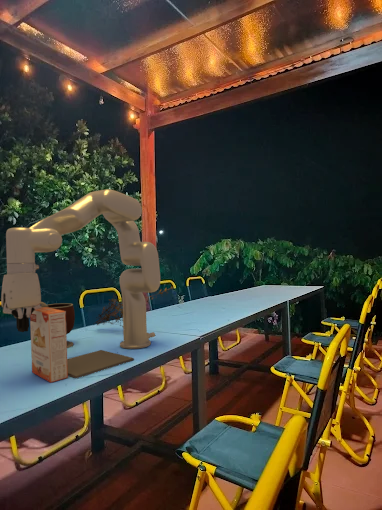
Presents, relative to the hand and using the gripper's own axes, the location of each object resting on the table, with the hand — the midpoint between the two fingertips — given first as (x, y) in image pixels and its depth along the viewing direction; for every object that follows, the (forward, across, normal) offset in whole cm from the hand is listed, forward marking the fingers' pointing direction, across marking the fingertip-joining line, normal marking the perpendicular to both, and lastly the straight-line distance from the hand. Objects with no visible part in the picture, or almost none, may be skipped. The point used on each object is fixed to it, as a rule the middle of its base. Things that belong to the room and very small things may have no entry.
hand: (23, 331), depth 106 cm
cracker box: (+16, -8, 0) cm, 18 cm away
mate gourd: (+16, -29, -33) cm, 47 cm away
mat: (+15, -23, 0) cm, 28 cm away
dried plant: (+16, -66, -28) cm, 73 cm away
